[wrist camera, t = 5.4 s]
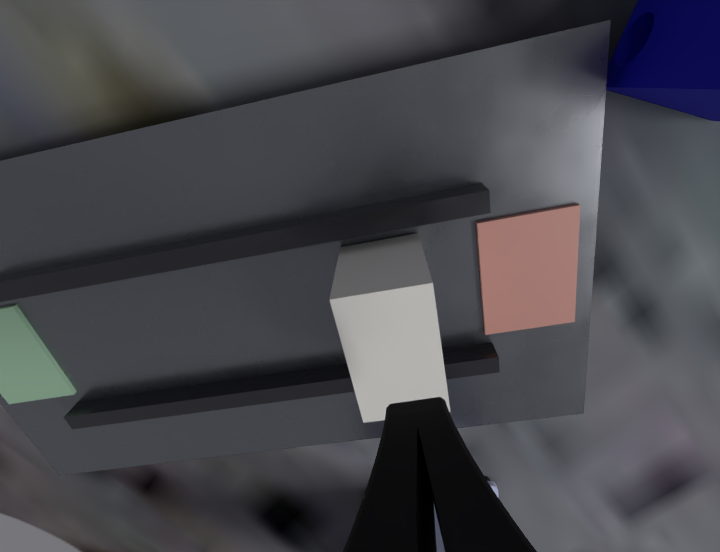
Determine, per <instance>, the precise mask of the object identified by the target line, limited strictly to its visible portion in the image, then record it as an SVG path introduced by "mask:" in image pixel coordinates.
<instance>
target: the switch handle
mask: <svg viewBox="0 0 720 552" xmlns="http://www.w3.org/2000/svg"><path fill="white" fill-rule="evenodd" d="M329 300H330V304H331V307H332V311H333V315H334V318H335V322H336V325H337V329H338V333H339V336H340V340H341V344H342V347H343V351H344V354H345V358H346V362H347V365H348V369H349V373H350V376H351V380H352V383H353V387H354V391H355V394H356V398H357V402H358V405H359V409H360V412H361V416H362V420H363V423H365V422H374V421H382V420H385V415H386V408H387V407H388V406H389V405H390V404H392V403H400V402H407V401H414V400H421V399H428V398H435V397H441V398H443V399H444V400H445V401H446V404H447V407H448V410H449V412H451V411H450V404H449V397H448V389H447V382H446V375H445V367H444V360H443V353H442V346H441V338H440V331H439V324H438V316H437V309H436V302H435V294H434V287H433V281H432V278H431V275H430V271H429V268H428V264H427V261H426V258H425V254H424V251H423V248H422V244H421V241H420V237H419V234H418V233H416V234H411V235H405V236H400V237H394V238H388V239H383V240H377V241H372V242H366V243H361V244H355V245H349V246H344V247H340V250H339V255H338V260H337V265H336V270H335V275H334V280H333V285H332V289H331V294H330V299H329Z"/></svg>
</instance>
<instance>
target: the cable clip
mask: <svg viewBox="0 0 720 552" xmlns="http://www.w3.org/2000/svg"><path fill="white" fill-rule="evenodd" d="M606 90H609V91H612V92H616V93H619V94H623V95H626V96H630V97H633V98H636V99H640V100H643V101H647V102H650V103H654V104H657V105H661V106H664V107H667V108H671V109H674V110H678V111H681V112H685V113H688V114H692V115H695V116H698V117H702V118H705V119H709V120H712V121H720V0H638V2H637V4H636V6H635V9H634V11H633V13H632V15H631V17H630V19H629V21H628V23H627V25H626V28H625V30H624V32H623V34H622V36H621V38H620V40H619V42H618V44H617V47H616V49H615V51H614V53H613V55H612V57H611V59H610V61H609V64H608V68H607V82H606Z"/></svg>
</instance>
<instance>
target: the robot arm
mask: <svg viewBox="0 0 720 552" xmlns="http://www.w3.org/2000/svg"><path fill="white" fill-rule="evenodd" d="M343 552H537V551H536V550H535V549H534V547H533V546H532V545H531V543H530V542H529V541H528V539H527V538H526V537H525V535H524V534H523V533H522V531H521V530H520V528H519V527H518V526H517V524H516V523H515V522H514V520H513V519H512V517H511V516H510V514H509V513H508V511H507V510H506V509H505V507H504V506H503V504H502V503H501V501H500V500H499V498H498V489H497V485H496V483H494V482H493V481H487V480H486V478H485V477H484V475H483V474H482V472H481V470H480V469H479V467H478V465H477V464H476V462H475V461H474V459H473V457H472V456H471V454H470V452H469V450H468V449H467V447H466V445H465V443H464V441H463V439H462V438H461V436H460V434H459V432H458V430H457V428H456V426H455V424H454V422H453V419H452V417H451V415H450V412H449V410H448V407H447V404H446V401H445V400H444V399H443V398H441V397H435V398H428V399H421V400H414V401H407V402H400V403H392V404H390V405H389V406H388V407H387V408H386V415H385V421H384V427H383V432H382V436H381V440H380V444H379V448H378V452H377V456H376V459H375V463H374V466H373V469H372V473H371V476H370V479H369V483H368V486H367V489H366V492H365V495H364V496H363V500H362V503H361V506H360V509H359V511H358V514H357V517H356V520H355V522H354V525H353V528H352V531H351V533H350V536H349V538H348V541H347V543H346V546H345V548H344V551H343Z"/></svg>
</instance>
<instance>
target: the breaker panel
mask: <svg viewBox="0 0 720 552" xmlns="http://www.w3.org/2000/svg"><path fill="white" fill-rule="evenodd" d="M610 25H611V20H607V21H603V22H599V23H594V24H590V25H586V26H581V27H577V28H573V29H568V30H564V31H560V32H556V33H551V34H547V35H543V36H538V37H534V38H530V39H525V40H521V41H517V42H512V43H508V44H504V45H499V46H495V47H491V48H486V49H482V50H478V51H473V52H469V53H465V54H460V55H456V56H452V57H447V58H443V59H439V60H434V61H430V62H426V63H421V64H417V65H413V66H408V67H404V68H400V69H395V70H391V71H387V72H382V73H378V74H374V75H369V76H365V77H361V78H356V79H352V80H348V81H343V82H339V83H335V84H331V85H326V86H322V87H318V88H313V89H309V90H305V91H300V92H296V93H292V94H287V95H283V96H279V97H274V98H270V99H266V100H261V101H257V102H253V103H248V104H244V105H240V106H235V107H231V108H227V109H222V110H218V111H214V112H209V113H205V114H201V115H196V116H192V117H188V118H183V119H179V120H175V121H170V122H166V123H162V124H157V125H153V126H149V127H144V128H140V129H136V130H131V131H127V132H123V133H119V134H114V135H110V136H106V137H101V138H97V139H93V140H88V141H84V142H80V143H75V144H71V145H67V146H62V147H58V148H54V149H49V150H45V151H41V152H36V153H32V154H28V155H23V156H19V157H15V158H10V159H6V160H2V161H0V404H1V405H2V406H3V407H4V409H5V410H6V411H7V412H8V413H9V415H10V416H11V417H12V418H13V419H14V421H15V422H16V423H17V424H18V426H19V427H20V428H21V429H22V430H23V432H24V433H25V434H26V435H27V437H28V438H29V439H30V440H31V441H32V443H33V444H34V445H35V446H36V447H37V449H38V450H39V451H40V452H41V454H42V455H43V456H44V457H45V458H46V460H47V461H48V462H49V463H50V464H51V466H52V467H53V468H54V469H55V471H56V472H57V473H58V474H59V475H66V474H75V473H83V472H92V471H100V470H109V469H117V468H126V467H134V466H143V465H151V464H159V463H168V462H176V461H185V460H193V459H202V458H210V457H219V456H227V455H235V454H244V453H252V452H261V451H269V450H278V449H286V448H295V447H303V446H311V445H320V444H328V443H337V442H345V441H354V440H362V439H371V438H379V437H381V436H382V432H383V427H384V421H385V420H382V421H374V422H365V423H363V420H362V416H361V412H360V409H359V405H358V402H357V398H356V394H355V391H354V387H353V383H352V380H351V376H350V373H349V369H348V365H347V362H346V358H345V354H344V351H343V347H342V344H341V340H340V336H339V333H338V329H337V325H336V322H335V318H334V315H333V311H332V307H331V304H330V300H329V299H330V294H331V289H332V285H333V280H334V275H335V270H336V265H337V260H338V255H339V250H340V247H344V246H349V245H355V244H361V243H366V242H372V241H377V240H383V239H388V238H394V237H400V236H405V235H411V234H416V233H418V234H419V237H420V241H421V244H422V248H423V251H424V254H425V258H426V261H427V264H428V268H429V271H430V275H431V278H432V281H433V287H434V294H435V302H436V309H437V316H438V324H439V331H440V338H441V346H442V353H443V360H444V367H445V375H446V382H447V389H448V397H449V404H450V411H451V412H450V415H451V417H452V419H453V422H454V424H455V426H456V428H464V427H472V426H480V425H489V424H497V423H506V422H514V421H523V420H531V419H540V418H548V417H556V416H565V415H573V414H582V413H584V400H585V386H586V371H587V357H588V342H589V328H590V313H591V299H592V285H593V270H594V256H595V241H596V227H597V212H598V198H599V184H600V169H601V155H602V140H603V126H604V111H605V97H606V82H607V68H608V54H609V39H610Z"/></svg>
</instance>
